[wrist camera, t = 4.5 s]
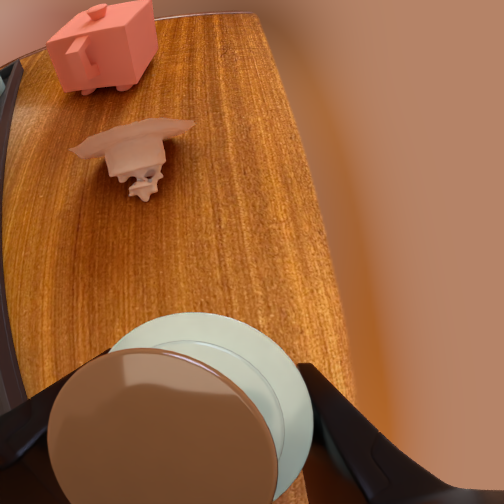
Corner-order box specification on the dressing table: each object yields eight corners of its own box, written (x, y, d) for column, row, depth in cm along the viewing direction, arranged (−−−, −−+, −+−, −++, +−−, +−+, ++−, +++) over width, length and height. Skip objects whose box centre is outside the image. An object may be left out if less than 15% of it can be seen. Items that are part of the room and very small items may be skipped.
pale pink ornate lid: (140, 214, 22) (46, 205, 15) (140, 149, 23) (53, 127, 16) (227, 193, 18) (118, 167, 12) (222, 116, 19) (127, 66, 12)
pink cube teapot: (167, 43, 27) (161, -21, 20) (131, 107, 22) (110, 24, 15) (105, 49, 27) (91, -8, 20) (58, 114, 22) (28, 45, 15)
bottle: (261, 457, 13) (337, 626, 1) (159, 437, 13) (-21, 527, 1) (277, 361, 15) (411, 273, 3) (177, 343, 15) (29, 209, 4)
